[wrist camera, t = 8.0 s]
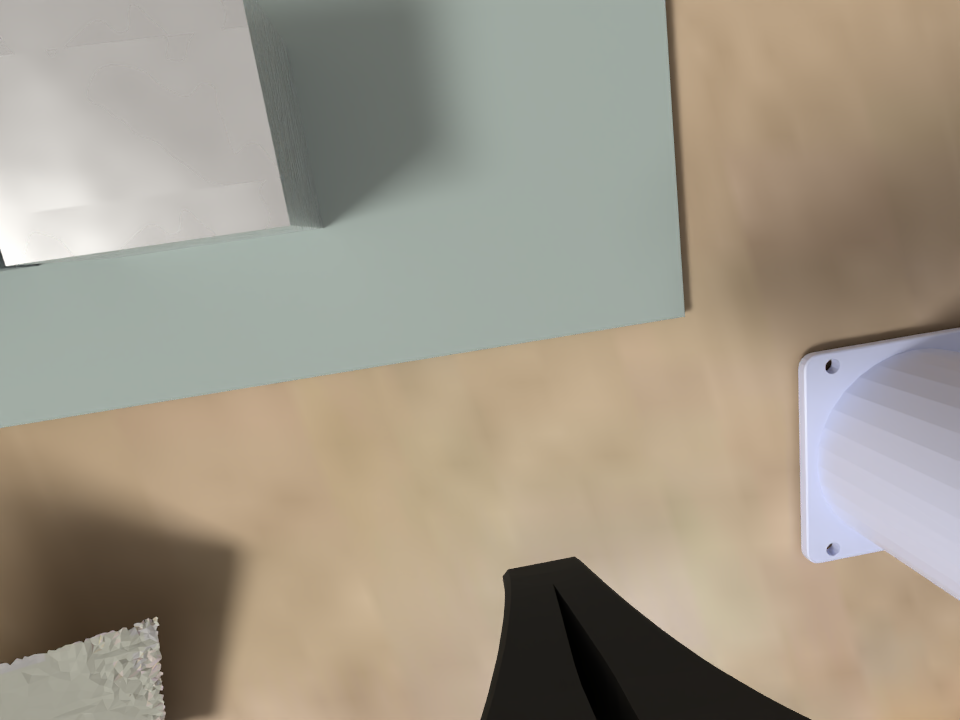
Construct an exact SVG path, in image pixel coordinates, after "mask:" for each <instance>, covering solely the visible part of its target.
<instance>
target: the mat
mask: <svg viewBox="0 0 960 720" xmlns="http://www.w3.org/2000/svg"><path fill="white" fill-rule="evenodd" d="M256 1H257V2H258V4H259V5H260V7H261V8H262V10H263V11H264V13H265V14H266V16H267V17H268V18H269V20H270V21H271V23H272V24H273V26H274V27H275V29H276V30H277V32H278V33H279V35H280V36H281V37H282V39H283V40H284V42H285V43H286V45H287V48H288V53H289V58H290V63H291V68H292V73H293V79H294V84H295V89H296V94H297V99H298V104H299V109H300V114H301V119H302V124H303V129H304V134H305V139H306V144H307V149H308V154H309V159H310V164H311V169H312V174H313V179H314V184H315V189H316V194H317V199H318V204H319V209H320V214H321V219H322V224H323V229H316V230H309V231H302V232H295V233H288V234H281V235H274V236H267V237H260V238H253V239H246V240H239V241H232V242H225V243H218V244H211V245H204V246H197V247H191V248H184V249H177V250H170V251H163V252H156V253H149V254H142V255H135V256H128V257H121V258H112V259H98V260H84V261H70V262H56V263H42V264H39V266H34V267H27V268H20V269H14V270H7V271H0V428H3V427H9V426H15V425H21V424H27V423H34V422H40V421H46V420H52V419H58V418H64V417H70V416H77V415H83V414H89V413H95V412H101V411H107V410H113V409H120V408H126V407H132V406H138V405H144V404H150V403H156V402H163V401H169V400H175V399H181V398H187V397H193V396H199V395H206V394H212V393H218V392H224V391H230V390H236V389H242V388H249V387H255V386H261V385H267V384H273V383H279V382H285V381H292V380H298V379H304V378H310V377H316V376H322V375H328V374H335V373H341V372H347V371H353V370H359V369H365V368H371V367H378V366H384V365H390V364H396V363H402V362H408V361H414V360H421V359H427V358H433V357H439V356H445V355H451V354H457V353H464V352H470V351H476V350H482V349H488V348H494V347H501V346H507V345H513V344H519V343H525V342H531V341H537V340H544V339H550V338H556V337H562V336H568V335H574V334H580V333H587V332H593V331H599V330H605V329H611V328H617V327H623V326H630V325H636V324H642V323H648V322H654V321H660V320H666V319H673V318H679V317H685V311H684V295H683V279H682V263H681V247H680V231H679V215H678V199H677V183H676V167H675V151H674V135H673V119H672V103H671V87H670V71H669V55H668V39H667V23H666V7H665V0H256Z"/></svg>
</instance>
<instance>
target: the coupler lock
mask: <svg viewBox="0 0 960 720" xmlns="http://www.w3.org/2000/svg"><path fill="white" fill-rule="evenodd" d="M316 229H323V224H322V219H321V214H320V209H319V204H318V199H317V194H316V189H315V184H314V179H313V174H312V169H311V164H310V159H309V154H308V149H307V144H306V139H305V134H304V129H303V124H302V119H301V114H300V109H299V104H298V99H297V94H296V89H295V84H294V79H293V73H292V68H291V63H290V58H289V53H288V48H287V45H286V43H285V42H284V40H283V39H282V37H281V36H280V35H279V33H278V32H277V30H276V29H275V27H274V26H273V24H272V23H271V21H270V20H269V18H268V17H267V16H266V14H265V13H264V11H263V10H262V8H261V7H260V5H259V4H258V2H257V1H256V0H0V250H1V253H2V256H3V259H4V262H5V265H6V266H13V265H28V264H42V263H56V262H70V261H84V260H98V259H112V258H121V257H128V256H135V255H142V254H149V253H156V252H163V251H170V250H177V249H184V248H191V247H197V246H204V245H211V244H218V243H225V242H232V241H239V240H246V239H253V238H260V237H267V236H274V235H281V234H288V233H295V232H302V231H309V230H316Z"/></svg>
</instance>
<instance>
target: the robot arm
mask: <svg viewBox="0 0 960 720" xmlns="http://www.w3.org/2000/svg"><path fill="white" fill-rule="evenodd" d="M829 360H831V361H832V364H831V367H830V368H829V369H828V370H826V369H825V366H826V363H827V362H828V361H829ZM798 381H799V438H800V495H801V549H802V554H803V555H804V556H805V557H806V558H807V559H808V560H810V561H811V562H813V563H822V562H827V561H832V560H837V559H842V558H848V557H853V556H858V555H863V554H868V553H873V552H878V551H883V550H885V551H886V552H888V553H889V554H891V555H892V556H894V557H895V558H897V559H898V560H900V561H901V562H903V563H904V564H906V565H907V566H909V567H910V568H912V569H913V570H915V571H916V572H918V573H919V574H921V575H922V576H924V577H925V578H927V579H928V580H930V581H931V582H933V583H934V584H936V585H937V586H939V587H940V588H942V589H943V590H945V591H946V592H947V593H949V594H950V595H952V596H953V597H955V598H956V599H958V600H959V601H960V327H959V328H953V329H947V330H941V331H935V332H929V333H924V334H918V335H912V336H906V337H900V338H894V339H888V340H882V341H877V342H871V343H865V344H859V345H853V346H847V347H841V348H835V349H830V350H824V351H818V352H812V353H809V354H807V355H805V356H804V357H803V358H802V359H801V361H800V363H799V368H798ZM831 543H832V546H831V547H830V548H829V549H827V547H828V546H829V545H830V544H831ZM503 582H504V588H505V607H504V619H503V626H502V632H501V638H500V644H499V651H498V656H497V660H496V664H495V668H494V672H493V676H492V681H491V685H490V689H489V693H488V697H487V700H486V703H485V707H484V710H483V713H482V717H481V720H811V719H809V718H807V717H805V716H803V715H801V714H799V713H797V712H795V711H793V710H791V709H789V708H787V707H785V706H783V705H781V704H779V703H777V702H775V701H774V700H772V699H770V698H768V697H766V696H764V695H762V694H761V693H759V692H757V691H755V690H754V689H752V688H750V687H749V686H747V685H745V684H743V683H742V682H740V681H738V680H737V679H735V678H733V677H732V676H730V675H728V674H726V673H725V672H723V671H721V670H720V669H718V668H716V667H715V666H713V665H712V664H710V663H709V662H707V661H706V660H704V659H702V658H701V657H699V656H698V655H697V654H695V653H694V652H692V651H691V650H689V649H688V648H687V647H685V646H684V645H682V644H681V643H679V642H678V641H677V640H675V639H674V638H673V637H671V636H670V635H668V634H667V633H666V632H664V631H663V630H662V629H660V628H659V627H658V626H657V625H655V624H654V623H653V622H651V621H650V620H649V619H648V618H646V617H645V616H644V615H643V614H641V613H640V612H639V611H638V610H636V609H635V608H634V607H633V606H631V605H630V604H629V603H628V602H626V601H625V600H624V599H623V598H622V597H621V596H619V595H618V594H617V593H616V592H615V591H614V590H612V589H611V588H610V587H609V586H608V585H607V584H606V583H604V582H603V581H602V580H601V579H600V578H599V577H598V576H597V575H596V574H594V573H593V572H592V571H591V570H590V569H589V568H588V567H587V566H586V565H585V564H584V563H582V562H581V561H580V560H579V559H577V558H576V557H571V558H566V559H560V560H555V561H550V562H545V563H540V564H534V565H529V566H524V567H519V568H513V569H508V570H507V572H506V573H505V574H504V575H503Z"/></svg>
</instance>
